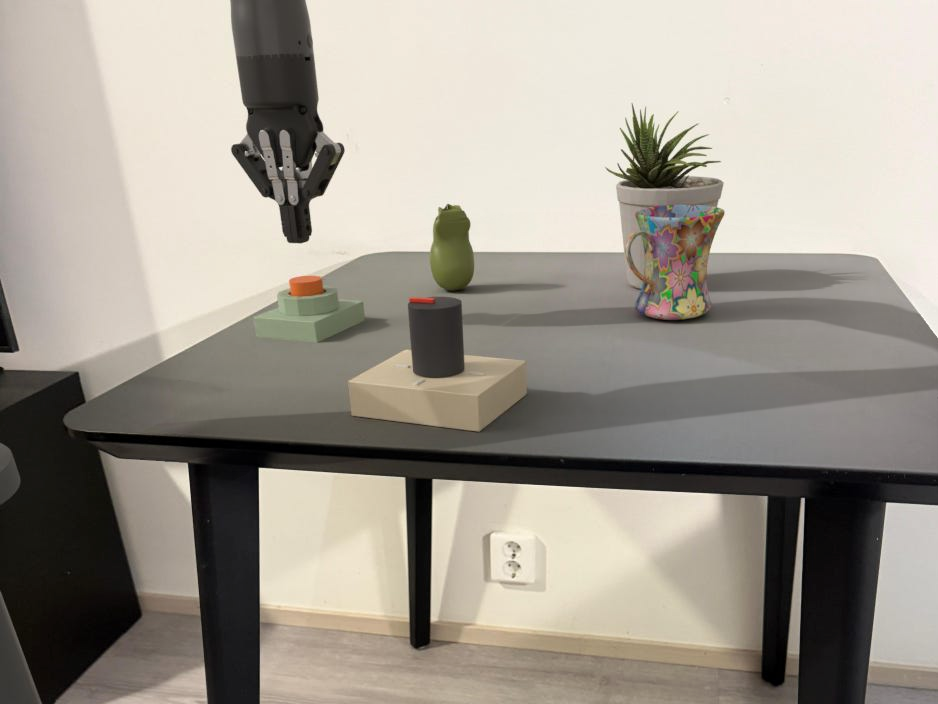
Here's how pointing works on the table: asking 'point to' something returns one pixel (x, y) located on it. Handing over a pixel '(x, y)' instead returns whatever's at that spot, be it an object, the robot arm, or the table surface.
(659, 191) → the potted plant
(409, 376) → the panel
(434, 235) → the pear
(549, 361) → the table surface
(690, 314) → the mug
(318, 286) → the button
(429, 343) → the dial
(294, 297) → the button block
